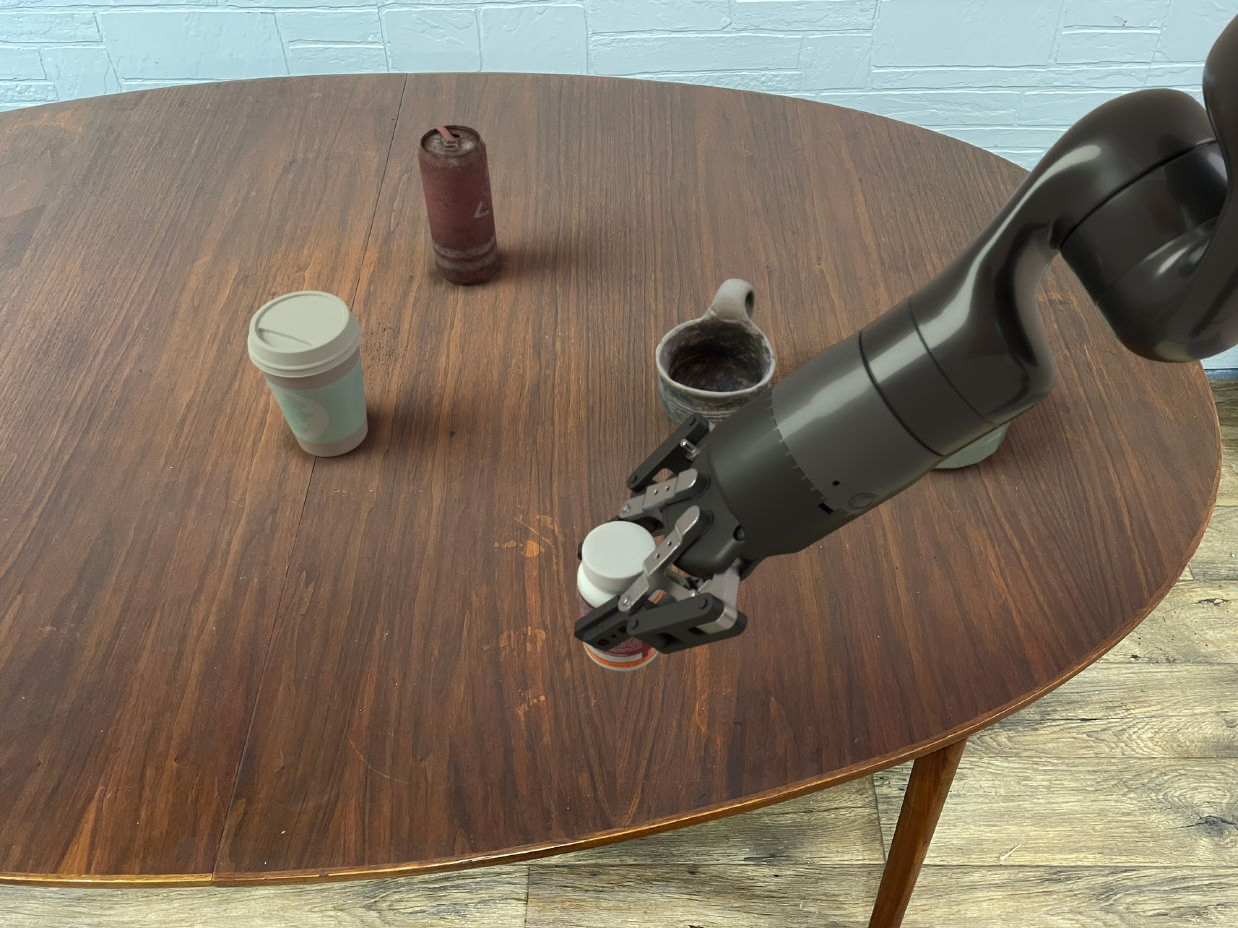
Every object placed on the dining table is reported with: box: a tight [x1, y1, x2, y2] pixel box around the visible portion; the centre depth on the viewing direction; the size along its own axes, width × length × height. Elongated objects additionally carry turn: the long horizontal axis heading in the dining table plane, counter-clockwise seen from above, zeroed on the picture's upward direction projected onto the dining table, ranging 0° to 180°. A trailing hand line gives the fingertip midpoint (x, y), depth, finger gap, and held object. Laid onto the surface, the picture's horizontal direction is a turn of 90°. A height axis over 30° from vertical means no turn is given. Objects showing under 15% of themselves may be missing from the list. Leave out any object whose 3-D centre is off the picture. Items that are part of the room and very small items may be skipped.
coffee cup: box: [247, 290, 369, 458], centre depth 83 cm, size 9×8×12 cm
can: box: [417, 124, 500, 286], centre depth 98 cm, size 6×6×14 cm
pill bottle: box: [576, 521, 664, 672], centre depth 58 cm, size 5×5×8 cm
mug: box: [655, 278, 776, 427], centre depth 85 cm, size 10×12×10 cm
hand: (588, 597), depth 58 cm, fingers closed on pill bottle, 4 cm apart
